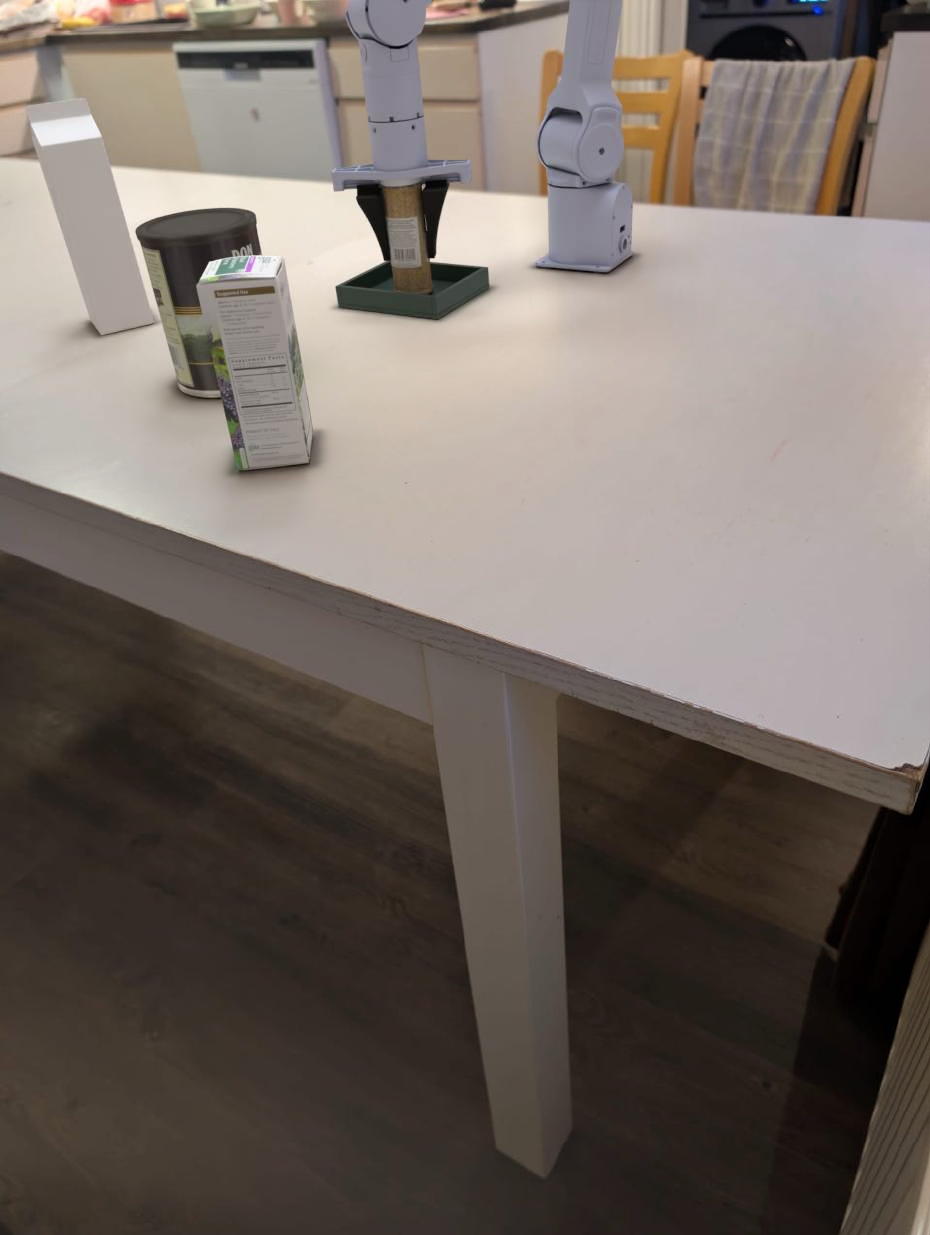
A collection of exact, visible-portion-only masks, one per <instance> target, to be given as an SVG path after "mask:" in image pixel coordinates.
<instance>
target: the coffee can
mask: <svg viewBox="0 0 930 1235" xmlns="http://www.w3.org/2000/svg"><path fill="white" fill-rule="evenodd" d="M257 223H258V220H257V215H256V213H255V212H254V211H252V210H249V209H245V208H241V207H212V208H211V207H209V208H199V209H191V210H184V211H179V212H175V213H170V214H166V215H162V216H158V217H154V218H152V219H149V220H147V221H145V222H143V223H141V224H139V225H138V226H137V227H136V228H135V231H134V232H135V235H136V238H137V240H138V242H139V243H140V247H141V250H142V256H143V259H144V262H145V266H146V269H147V273H148V277H149V281H150V285H151V288H152V292H153V295H154V299H155V302H156V307H157V309H158V313H159V317H160V321H161V325H162V328H163V331H164V332H163V333H164V336H165V339H166V343H167V346H168V350H169V354H170V358H171V360H172V365H173V368H174V373H175V377H176V380H177V387H178V389H179V390H180V391H181V392H182V393H184V394H186V395H188V396H192V397H196V398H208V399H218V398H220V399H221V394H220V390H219V386H218V381H217V376H216V372H215V368H214V364H213V359H212V354H211V350H210V346H209V341H208V337H207V332H206V328H205V323H204V318H203V314H202V310H201V305H200V301H199V297H198V292H197V287H196V286H197V284H198V282H199V280H200V278H201V277H202V275H203V273H204V271H205V269H206V267H207V265H208V263H209V262H211V261H215V260H219V259H224V258H230V257H238V256H252V255H263V253H262V248H261V243H260V238H259V233H258V228H257Z"/></svg>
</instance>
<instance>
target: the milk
mask: <svg viewBox="0 0 930 1235" xmlns="http://www.w3.org/2000/svg"><path fill="white" fill-rule="evenodd" d="M25 112H26V117H27V119H28V121H29V126H30V135H31V140H32V144H33V147H34V150H35V153H36V155H37V159H38V162H39V165H40V168H41V171H42V176H43V177H44V181H45V183H46V187H47V190H48V193H49V196H50V199H51V203H52V205H53V209H54V212H55V215H56V218H57V222H58V224H59V227H60V230H61V234H62V236H63V239H64V243H65V246H66V249H67V252H68V255H69V258H70V262H71V265H72V268H73V271H74V273H75V274H74V275H75V277H76V279H77V283H78V285H79V289H80V292H81V296H82V299H83V301H84V304H85V308H86V311H87V314H88V318H89V320H90V322H91V323H92V325H93V326H94V328H95V329H96V330H97V332H98V333H99V335H100V336H104V335H105V336H106V335H109V334H113V333H117V332H121V331H127V330H130V329H135V328H139V327H144V326H147V325H152V324H154V323H155V320H154V317H153V312H152V310H151V306H150V301H149V299H148V295H147V292H146V289H145V285H144V280H143V278H142V274H141V271H140V267H139V264H138V260H137V256H136V252H135V249H134V245H133V242H132V238H131V234H130V231H129V228H128V224H127V221H126V216H125V212H124V210H123V205H122V203H121V202H122V201H121V199H120V196H119V192H118V189H117V185H116V181H115V177H114V174H113V171H112V167H111V164H110V163H111V162H110V160H109V156H108V153H107V149H106V146H105V142H104V139H103V136H102V134H101V131H100V130H99V128H98V125H97V123H96V122H95V120H94V117H93V115H92V113H91V109H90V105H89V101H88V100H87V99H86V98H84V97H80V98H72V99H65V100H58V101H52V102H51V101H50V102H43V103H36V104H29V105H27V106H26V107H25Z"/></svg>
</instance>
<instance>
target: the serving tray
mask: <svg viewBox="0 0 930 1235" xmlns="http://www.w3.org/2000/svg"><path fill="white" fill-rule="evenodd" d="M430 269H431V278H432V284H433V291H432V292H431V293H430V294H428V295H424V294H415V293H406V292H397V291H394V280H393V271H392V265H391V260H390V261H383V262H382V263H380V264H377V265H375V266H372V267H371V268H369V269H367V270H365V271H363V272H361V273H359V274H357V275H355V276H353V277H352V278H349V279H347V280H345V281H344V282H341V283H339V284H337V285H335V286H334V287H335V294H336V300H337V306H338V308H343V309H352V310H358V311H367V312H373V313H374V312H375V313H384V314H391V315H399V316H406V317H415V318H423V319H424V318H425V319H432V320H439V319H441V318H443V317H445V316H446V315H447V314H449V313H450V312H452V311H454V310H456V309H457V308H459V307H461V306H462V305H464V304H465V303H467V302H469V301H471V300H472V299H474V298H475V297H478V295H480V294H481V293H483V292H485V291H487V290H488V289H489V288H490V276H489V267H488V266H481V265H480V266H479V265H469V264H458V263H446V262H438V261H437V262H435V261H430Z"/></svg>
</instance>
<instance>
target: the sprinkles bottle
mask: <svg viewBox="0 0 930 1235" xmlns="http://www.w3.org/2000/svg"><path fill="white" fill-rule="evenodd" d="M422 180H423V179H421V177H418V178H411V179H403V180H381V182H380V184H381V185H382V186H381V188H382V191H383V198H384V207H385V220H386V228H387V236H388V244H389V252H390V260H391V265H392V271H393V280H394V291H397V292H406V293H415V294H424V295H428V294H430V293H431V292H432V291H433V284H432V278H431V269H430V262H431V258H429V259H428V252H427V227H426V219H425V211H424V204H423V198H422V190H423V185H422V184H421V183H420V182H421V181H422Z"/></svg>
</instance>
